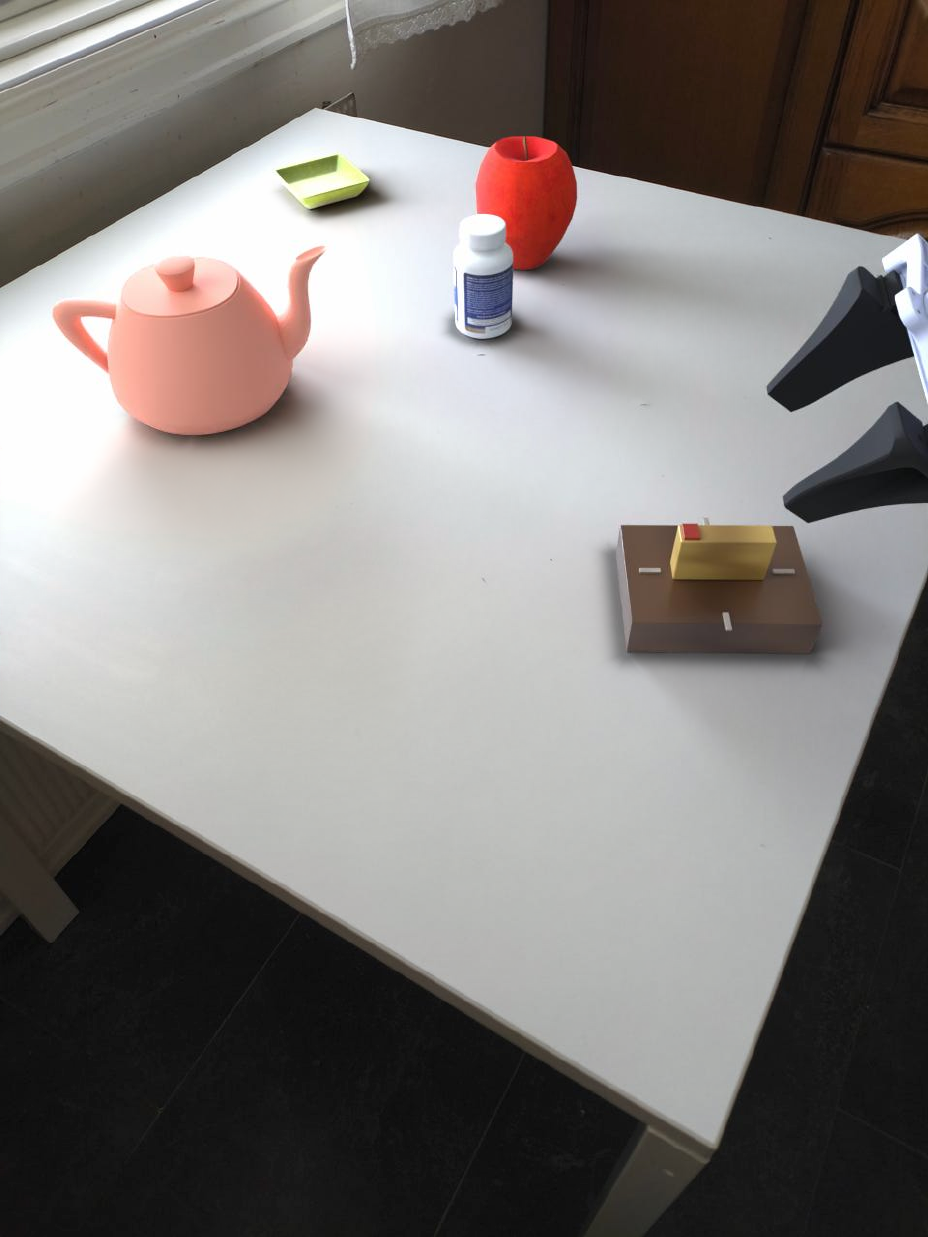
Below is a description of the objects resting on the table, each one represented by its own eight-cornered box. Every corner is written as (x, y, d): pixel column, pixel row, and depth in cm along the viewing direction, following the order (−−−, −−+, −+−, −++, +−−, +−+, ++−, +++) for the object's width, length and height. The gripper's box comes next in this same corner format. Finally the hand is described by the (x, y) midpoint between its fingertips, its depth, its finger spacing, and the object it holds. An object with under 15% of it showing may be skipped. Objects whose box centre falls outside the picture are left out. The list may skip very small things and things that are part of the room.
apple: (573, 239, 96) (582, 116, 87) (571, 287, 90) (580, 160, 80) (480, 236, 97) (479, 114, 87) (471, 283, 90) (469, 157, 81)
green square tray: (302, 217, 100) (299, 198, 99) (274, 187, 106) (271, 168, 104) (373, 198, 103) (371, 179, 102) (342, 170, 108) (340, 152, 107)
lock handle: (759, 563, 60) (773, 522, 57) (764, 580, 59) (778, 539, 56) (669, 562, 60) (678, 521, 58) (672, 579, 59) (681, 539, 57)
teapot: (335, 331, 85) (316, 201, 76) (355, 428, 76) (336, 292, 66) (96, 362, 83) (46, 231, 73) (85, 466, 73) (26, 331, 64)
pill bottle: (523, 325, 85) (527, 224, 78) (481, 347, 83) (480, 245, 76) (485, 303, 88) (485, 203, 81) (443, 323, 86) (439, 223, 78)
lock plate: (781, 550, 65) (792, 517, 63) (812, 661, 59) (826, 630, 56) (614, 548, 66) (619, 517, 63) (627, 659, 59) (633, 628, 57)
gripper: (975, 122, 39) (724, 317, 49) (1070, 353, 31) (750, 531, 41) (1054, 216, 42) (805, 381, 52) (1158, 446, 35) (843, 591, 44)
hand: (786, 452), depth 47 cm, fingers open, 7 cm apart
